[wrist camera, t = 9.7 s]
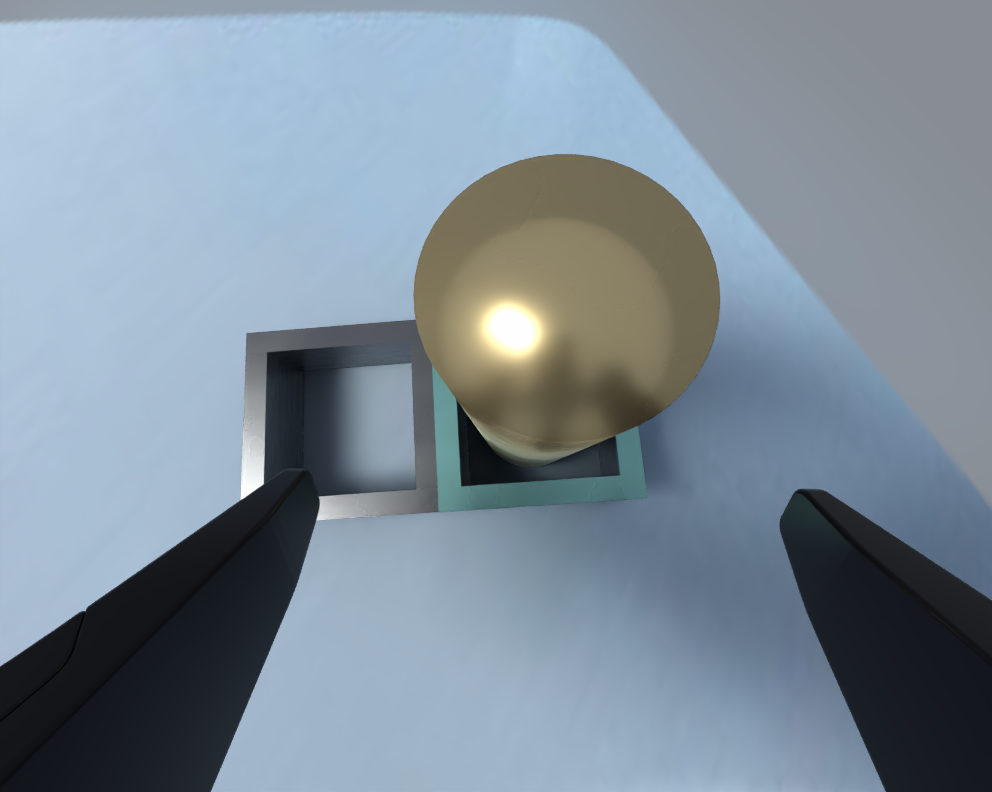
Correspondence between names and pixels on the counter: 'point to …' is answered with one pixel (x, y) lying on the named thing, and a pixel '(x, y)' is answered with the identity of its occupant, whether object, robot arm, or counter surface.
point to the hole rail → (436, 428)
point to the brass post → (565, 303)
